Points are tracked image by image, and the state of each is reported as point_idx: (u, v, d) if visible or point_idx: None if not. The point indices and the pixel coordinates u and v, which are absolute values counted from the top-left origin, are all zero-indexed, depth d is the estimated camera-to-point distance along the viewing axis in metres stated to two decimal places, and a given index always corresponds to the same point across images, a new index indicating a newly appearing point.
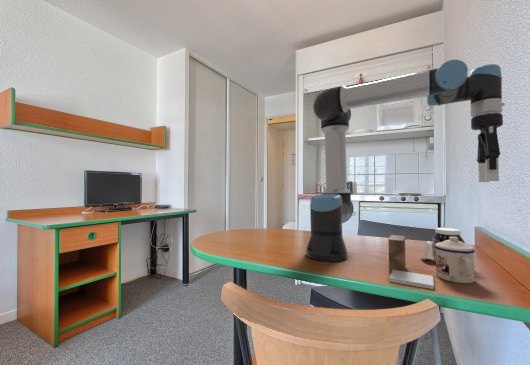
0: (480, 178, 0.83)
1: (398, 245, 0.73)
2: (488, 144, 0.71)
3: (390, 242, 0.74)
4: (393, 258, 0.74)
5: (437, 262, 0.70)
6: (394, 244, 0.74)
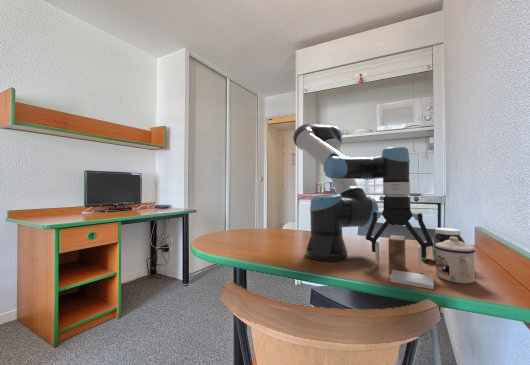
0: None
1: (398, 245, 0.73)
2: None
3: (390, 242, 0.74)
4: (393, 258, 0.74)
5: (437, 262, 0.70)
6: (394, 244, 0.74)
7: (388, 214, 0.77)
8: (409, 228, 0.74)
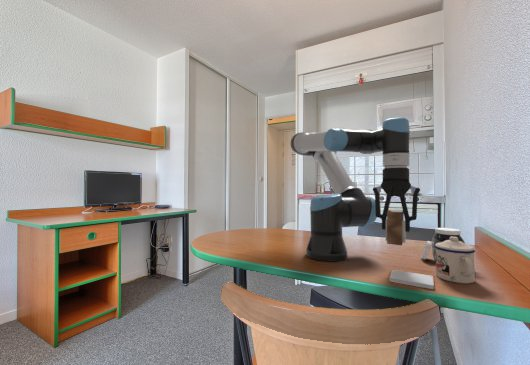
0: None
1: (396, 217, 0.74)
2: None
3: (389, 214, 0.75)
4: (391, 229, 0.75)
5: (437, 262, 0.70)
6: (392, 216, 0.74)
7: (387, 185, 0.78)
8: (402, 200, 0.76)
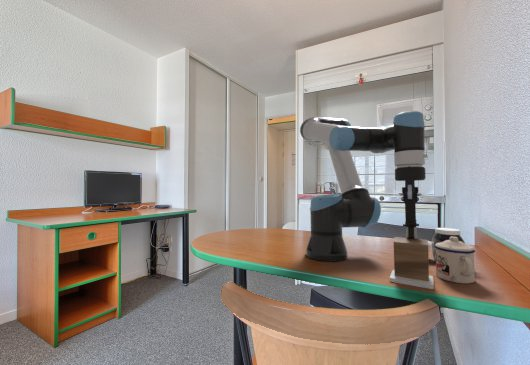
0: None
1: None
2: (406, 213, 0.66)
3: None
4: None
5: (437, 262, 0.70)
6: None
7: (414, 185, 0.67)
8: None
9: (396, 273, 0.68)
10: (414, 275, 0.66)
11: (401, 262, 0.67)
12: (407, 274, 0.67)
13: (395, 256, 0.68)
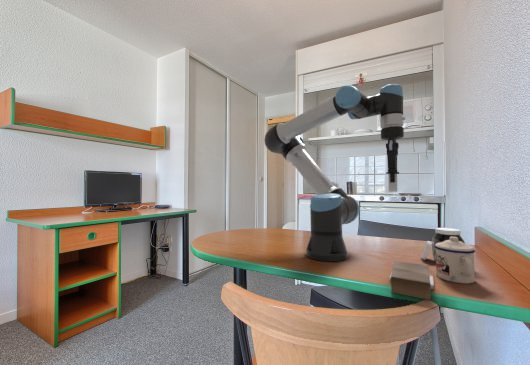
0: None
1: None
2: (388, 162, 0.87)
3: None
4: None
5: (437, 262, 0.70)
6: None
7: (394, 141, 0.87)
8: (396, 156, 0.90)
9: None
10: None
11: None
12: None
13: None
